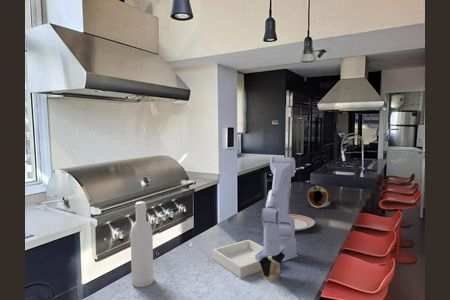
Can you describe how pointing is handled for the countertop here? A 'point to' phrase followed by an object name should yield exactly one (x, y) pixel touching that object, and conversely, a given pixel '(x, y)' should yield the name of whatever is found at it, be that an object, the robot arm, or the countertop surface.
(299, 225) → the dinner plate
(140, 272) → the bottle
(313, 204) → the clay pot
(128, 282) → the countertop surface
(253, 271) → the bin
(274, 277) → the maple block
